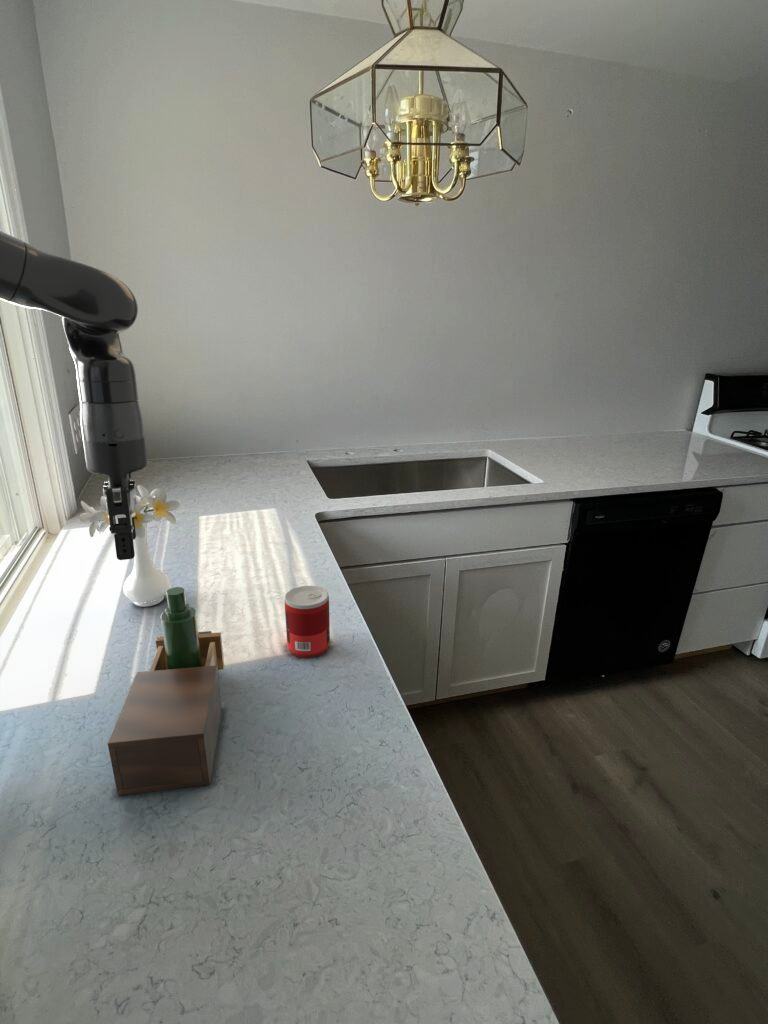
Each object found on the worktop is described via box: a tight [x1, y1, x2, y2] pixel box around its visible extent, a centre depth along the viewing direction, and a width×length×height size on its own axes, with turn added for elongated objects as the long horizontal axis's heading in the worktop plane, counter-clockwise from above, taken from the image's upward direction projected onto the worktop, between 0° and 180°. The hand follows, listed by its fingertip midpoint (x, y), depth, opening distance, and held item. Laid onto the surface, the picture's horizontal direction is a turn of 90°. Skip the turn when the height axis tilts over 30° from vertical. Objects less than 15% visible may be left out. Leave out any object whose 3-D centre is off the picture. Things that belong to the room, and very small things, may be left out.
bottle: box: [160, 586, 203, 669], centre depth 88 cm, size 5×5×17 cm
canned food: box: [284, 585, 331, 659], centre depth 102 cm, size 8×8×11 cm
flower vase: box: [79, 484, 180, 608], centre depth 115 cm, size 13×18×25 cm
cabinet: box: [107, 666, 223, 796], centre depth 79 cm, size 15×12×9 cm
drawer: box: [148, 630, 225, 674], centre depth 91 cm, size 18×10×7 cm, turn 9°
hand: (127, 548), depth 79 cm, fingers open, 8 cm apart
